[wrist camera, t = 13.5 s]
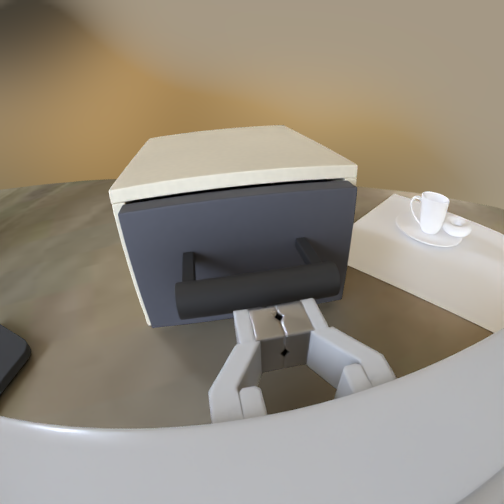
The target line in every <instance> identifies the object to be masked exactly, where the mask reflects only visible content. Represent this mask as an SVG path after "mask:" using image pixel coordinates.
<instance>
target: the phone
mask: <svg viewBox="0 0 504 504" xmlns="http://www.w3.org/2000/svg"><path fill="white" fill-rule="evenodd" d="M30 353H31V349H30V347H29V345H28V344H27V342H26V341H25V340H24V339H23V338H21V337H20V336H18V335H16V334H15V333H13V332H12V331H10V330H8V329H7V328H5V327H4V326H2V325H1V324H0V395H1V393H2V392H3V391H4V389H5V388H6V387H7V385H8V384H9V383H10V382H11V380H12V379H13V378H14V376H15V375H16V374H17V373H18V371H19V370H20V369H21V368H22V366H23V365H24V364H25V362H26V361H27V360H28V358H29V356H30Z"/></svg>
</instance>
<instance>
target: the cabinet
mask: <svg viewBox="0 0 504 504" xmlns="http://www.w3.org/2000/svg"><path fill="white" fill-rule="evenodd" d="M357 168H358V166H357V164H355V163H353V162H351V161H350V160H348V159H346V158H345V157H343V156H341V155H339V154H338V153H336V152H334V151H332V150H330V149H328V148H327V147H325V146H323V145H321V144H319V143H317V142H315V141H313V140H312V139H310V138H308V137H306V136H304V135H302V134H300V133H298V132H296V131H294V130H292V129H290V128H287V127H286V126H284V125H277V126H276V125H275V126H256V127H241V128H230V129H218V130H209V131H200V132H191V133H184V134H176V135H169V136H163V137H156V138H150V139H149V140H148V141H147V142H146V144H145V145H144V146H143V147H142V149H141V150H140V151H139V152H138V153H137V154H136V156H135V157H134V158H133V160H132V161H131V162H130V163H129V164H128V166H127V167H126V168H125V170H124V171H123V172H122V173H121V175H120V176H119V177H118V179H117V180H116V181H115V183H114V184H113V185H112V187H111V188H110V190H109V195H110V200H111V203H112V208H113V212H114V216H115V220H116V224H117V228H118V231H119V235H120V239H121V242H122V246H123V249H124V253H125V256H126V260H127V263H128V266H129V270H130V273H131V276H132V279H133V282H134V285H135V288H136V291H137V294H138V297H139V300H140V303H141V306H142V309H143V312H144V314H145V316H146V317H145V318H146V320H147V323H148V325H151V323H150V320H149V317H148V315H147V312H146V309H145V306H144V303H143V300H142V297H141V294H140V291H139V288H138V285H137V282H136V279H135V275H134V272H133V269H132V265H131V262H130V259H129V255H128V252H127V248H126V245H125V241H124V237H123V233H122V230H121V226H120V222H119V218H118V213H119V211H120V209H121V207H122V205H126V204H132V203H138V202H140V199H145V198H151V197H158V196H164V195H171V194H178V193H186V192H193V191H201V190H209V189H217V188H226V187H235V186H245V185H255V184H265V183H277V182H289V181H303V180H318V179H327V182H330V181H349V182H350V183H352V184H353V185H355V186H356V180H357V179H356V177H357Z"/></svg>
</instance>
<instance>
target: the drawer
mask: <svg viewBox="0 0 504 504" xmlns="http://www.w3.org/2000/svg"><path fill="white" fill-rule="evenodd" d="M356 196H357V187H356V186H355V185H353V184H352V183H350V182H349V181H330V182H327V179H318V180H303V181H289V182H277V183H265V184H255V185H245V186H235V187H226V188H217V189H209V190H201V191H193V192H186V193H178V194H171V195H164V196H158V197H151V198H145V199H140V202H138V203H132V204H126V205H122V207H121V209H120V211H119V213H118V218H119V222H120V226H121V230H122V233H123V237H124V241H125V245H126V248H127V252H128V255H129V259H130V262H131V265H132V269H133V272H134V275H135V279H136V282H137V285H138V288H139V291H140V294H141V297H142V300H143V303H144V306H145V309H146V312H147V315H148V317H149V320H150V323H151V326H152V328H155V327H165V326H174V325H183V324H191V323H199V322H207V321H214V320H222V319H229V318H234V316H233V311H236V310H244V309H250V308H257V307H265V306H272V305H277V304H283V303H289V302H294V301H300V300H304V299H309V298H313V299H314V300H315V301H316V303H317V304H320V303H325V302H330V301H335V300H340V299H342V294H343V289H344V283H345V277H346V271H347V265H348V258H349V252H350V245H351V238H352V230H353V222H354V214H355V205H356Z"/></svg>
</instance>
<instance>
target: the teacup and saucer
mask: <svg viewBox="0 0 504 504" xmlns="http://www.w3.org/2000/svg"><path fill="white" fill-rule="evenodd" d="M414 199H419V200H420V201H421V202H420V207H419V211H416V210H414V207H413V201H414ZM448 206H449V199H448V198H447V197H445V196H443V195H441V194H439V193H435V192H429V191H427V192H423V193H422V197H420V196H414V197H413V198H412V199H411V200H410V201H409V207H410V211H404V212H401V213H400V214H398V215H397V216H396V218H395V224H396V226H397V227H398V229H399V230H400V231H401V232H402V233H404V234H405V235H406V236H408V237H409V238H411V239H413V240H415V241H417V242H420V243H422V244H425V245H429V246H433V247H438V248H452V247H456V246H458V245H459V244H460V243H461V242H462V240H463V238H465V237H468V236H469V235H470V234H471V233H472V231H473V225H472V223H471V222H470V221H469V220H468V219H465V218H462V217H460V216H457V215H449V216H447V213H448V212H447V209H448Z"/></svg>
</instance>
